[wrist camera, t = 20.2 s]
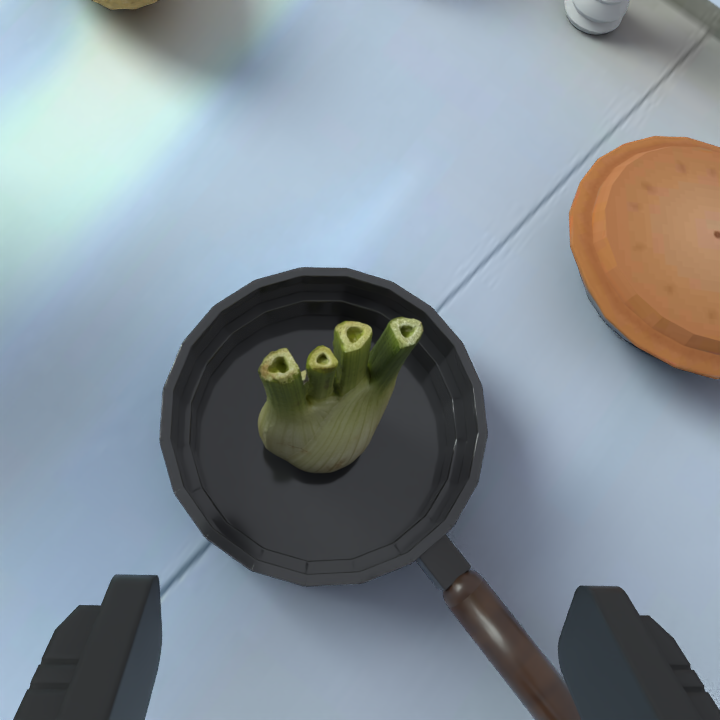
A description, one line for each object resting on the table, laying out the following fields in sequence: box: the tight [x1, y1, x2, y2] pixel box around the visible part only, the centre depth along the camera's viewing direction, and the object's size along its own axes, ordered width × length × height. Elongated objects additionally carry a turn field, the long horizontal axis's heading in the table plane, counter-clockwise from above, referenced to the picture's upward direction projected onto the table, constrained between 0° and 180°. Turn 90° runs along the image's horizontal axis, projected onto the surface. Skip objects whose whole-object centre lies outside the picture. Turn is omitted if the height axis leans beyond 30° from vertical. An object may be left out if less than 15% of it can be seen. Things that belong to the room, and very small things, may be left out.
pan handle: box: [416, 534, 581, 720], centre depth 26 cm, size 2×14×2 cm, turn 39°
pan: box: [159, 267, 488, 587], centre depth 30 cm, size 15×15×4 cm
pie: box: [569, 136, 720, 379], centre depth 35 cm, size 15×16×5 cm
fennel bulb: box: [258, 317, 423, 473], centre depth 25 cm, size 6×5×12 cm
